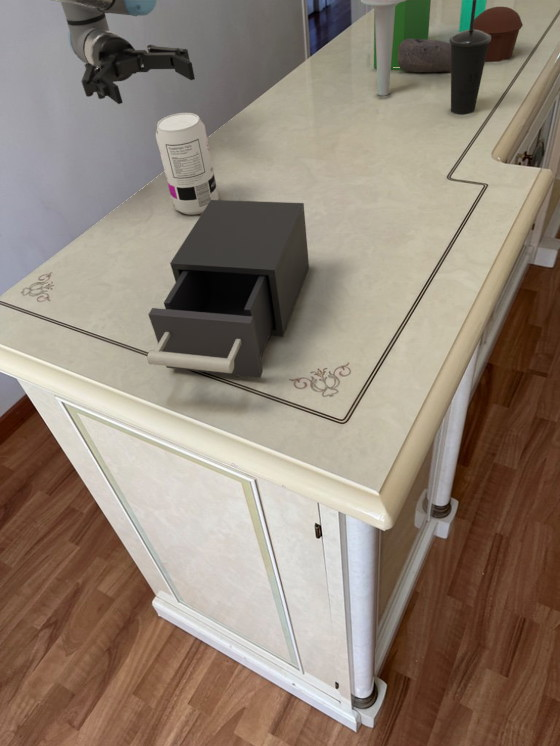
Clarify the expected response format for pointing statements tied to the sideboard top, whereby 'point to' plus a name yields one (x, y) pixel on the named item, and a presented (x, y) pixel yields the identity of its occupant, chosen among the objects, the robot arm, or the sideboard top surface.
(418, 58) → the perforated stone tool
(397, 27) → the hardback book
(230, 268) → the drawer cabinet
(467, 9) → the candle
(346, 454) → the sideboard top surface
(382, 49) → the novelty light stick
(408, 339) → the sideboard top surface
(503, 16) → the muffin
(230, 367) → the open drawer with handle
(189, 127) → the supplement can
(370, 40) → the sideboard top surface
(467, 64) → the drinking cup
